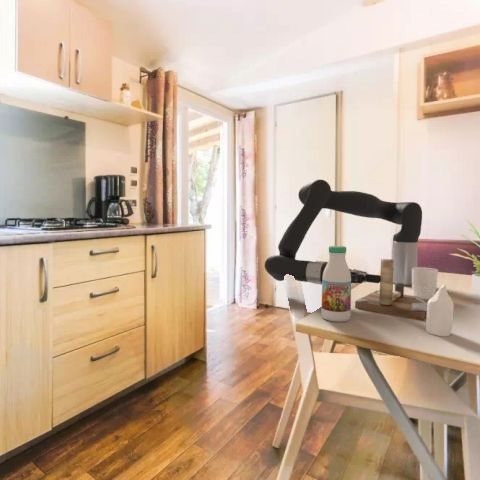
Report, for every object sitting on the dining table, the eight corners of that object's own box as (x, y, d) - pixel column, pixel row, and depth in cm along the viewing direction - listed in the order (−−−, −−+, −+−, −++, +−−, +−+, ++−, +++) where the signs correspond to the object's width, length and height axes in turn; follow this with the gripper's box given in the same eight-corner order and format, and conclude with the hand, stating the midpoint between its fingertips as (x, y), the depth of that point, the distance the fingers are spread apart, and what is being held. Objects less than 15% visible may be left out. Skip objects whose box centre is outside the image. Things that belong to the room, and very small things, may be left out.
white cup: (440, 301, 113) (441, 271, 112) (414, 300, 114) (415, 270, 114) (431, 295, 121) (433, 267, 120) (407, 294, 122) (409, 266, 121)
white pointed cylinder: (426, 280, 87) (451, 282, 85) (423, 327, 88) (448, 329, 86) (430, 285, 81) (457, 287, 79) (427, 334, 82) (454, 338, 80)
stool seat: (376, 296, 120) (376, 289, 119) (438, 305, 107) (438, 299, 107) (355, 307, 105) (355, 300, 105) (423, 320, 93) (423, 312, 93)
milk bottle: (317, 314, 98) (319, 244, 97) (343, 313, 99) (345, 244, 97) (326, 322, 91) (328, 247, 89) (354, 322, 91) (357, 247, 90)
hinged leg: (394, 294, 113) (396, 254, 111) (406, 295, 110) (407, 255, 109) (377, 303, 101) (379, 259, 100) (389, 305, 99) (391, 260, 98)
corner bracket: (406, 306, 99) (406, 299, 99) (421, 306, 99) (421, 300, 99) (411, 310, 95) (412, 303, 95) (427, 311, 95) (428, 304, 94)
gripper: (316, 264, 105) (375, 269, 95) (330, 259, 116) (385, 264, 106) (315, 288, 105) (374, 296, 96) (329, 281, 116) (384, 287, 107)
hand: (379, 279), depth 101 cm, fingers closed
